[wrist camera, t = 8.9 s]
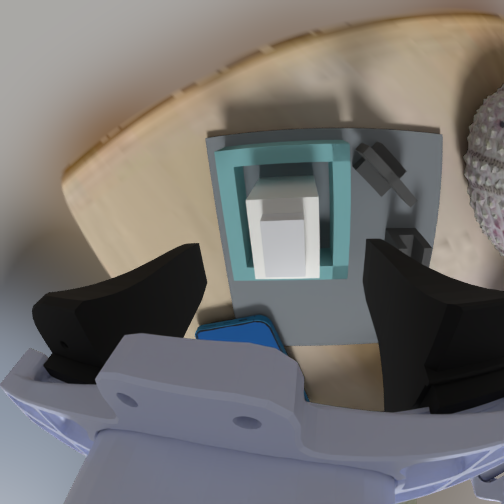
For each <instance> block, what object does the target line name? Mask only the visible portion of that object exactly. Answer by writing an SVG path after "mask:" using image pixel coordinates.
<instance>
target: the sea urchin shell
mask: <svg viewBox="0 0 504 504" xmlns="http://www.w3.org/2000/svg"><path fill="white" fill-rule="evenodd" d="M476 111H477V114H475V115H474V120H473V121H474V123H472V124H471V125H470V126H469V130H470V134H469V136H468V137H467V140H468V151H467V153H466V154H465V155H464V156H463V158H464V160H465V162H466V168H465V171H464V172H465V174H464V175H465V176H466V178H467V179H468V181H469V187H468V190H467V192H468V194H469V196H470V205H471V207H472V208H473V209H474V212H475V218H476V221H477V222H478V223H479V224H480V228H481V229H482V233H484V234H485V235H486V236H487V237H488V239H489V240H491V242H492V244H493V245H495V249H498V250H499V252H500V255H501V256H504V84H503V85H502V87H501V88H498V90H497V92H495V93H494V94H493V95H491V96H487V99H484V102H483V105H482V106H480V109H478V110H476Z"/></svg>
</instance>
